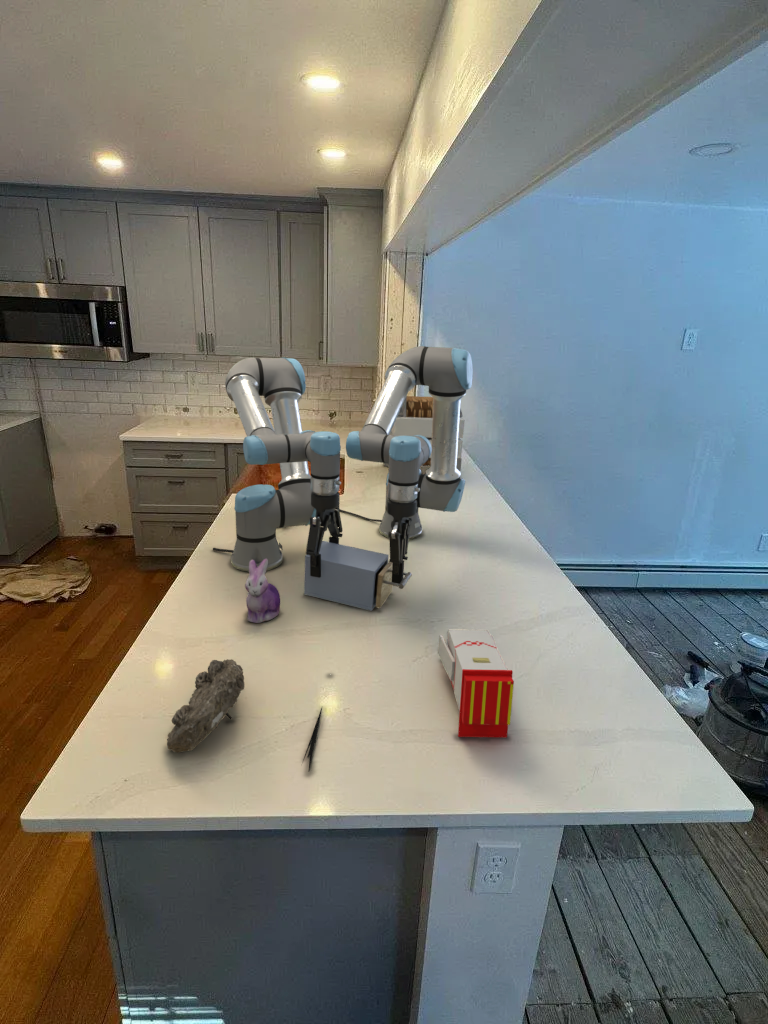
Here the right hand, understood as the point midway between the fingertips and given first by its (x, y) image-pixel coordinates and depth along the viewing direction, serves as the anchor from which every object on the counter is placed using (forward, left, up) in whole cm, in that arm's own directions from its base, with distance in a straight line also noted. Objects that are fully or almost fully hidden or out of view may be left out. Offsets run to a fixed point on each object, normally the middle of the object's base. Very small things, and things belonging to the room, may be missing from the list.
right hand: (397, 583), depth 150 cm
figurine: (-16, -31, -7) cm, 35 cm away
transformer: (-90, +96, -7) cm, 131 cm away
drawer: (-8, -5, -5) cm, 11 cm away
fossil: (+12, -57, -7) cm, 59 cm away
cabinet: (-13, -7, -6) cm, 16 cm away
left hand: (-18, -11, 0) cm, 21 cm away
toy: (+37, -12, -7) cm, 39 cm away
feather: (+25, -42, -7) cm, 49 cm away
